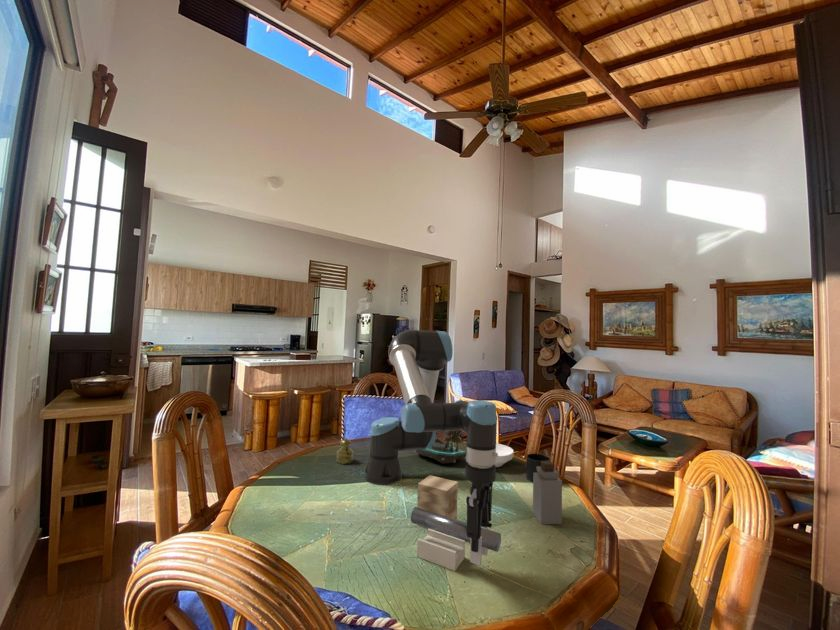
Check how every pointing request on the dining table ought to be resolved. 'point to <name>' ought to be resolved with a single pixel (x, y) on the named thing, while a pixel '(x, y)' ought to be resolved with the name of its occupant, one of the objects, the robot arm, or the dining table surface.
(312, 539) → the dining table surface
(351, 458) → the olive ridged vase
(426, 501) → the brown wooden block
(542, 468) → the perfume bottle
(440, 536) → the cradle
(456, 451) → the diorama
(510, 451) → the bowl
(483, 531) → the axle
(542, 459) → the mug
